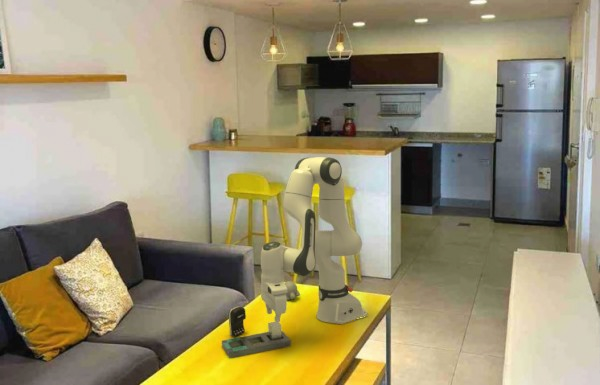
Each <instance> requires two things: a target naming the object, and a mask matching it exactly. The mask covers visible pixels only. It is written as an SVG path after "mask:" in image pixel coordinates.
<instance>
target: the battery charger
mask: <svg viewBox="0 0 600 385" xmlns="http://www.w3.org/2000/svg"><path fill="white" fill-rule="evenodd" d="M246 318H247V315H246V309H245V307H243V306H241V305H240V306H239V305H238V306H234V307H233V308H231V309H229V311H228V325H229V326H228V327H229V335H230V337H237V336H238V337H239V336H241V335H242V334H244V333H245V332H246V329H245V326H244V320H246Z"/></svg>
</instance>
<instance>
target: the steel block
mask: <svg viewBox="0 0 600 385" xmlns="http://www.w3.org/2000/svg"><path fill="white" fill-rule="evenodd" d="M267 327H268V329H267V330H268V332H269V339H270V340H271V341H273V340H278V339H282V336H281V330H282V324H281V323H280V322H276V321H272V322H268V323H267Z"/></svg>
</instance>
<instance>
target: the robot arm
mask: <svg viewBox="0 0 600 385" xmlns="http://www.w3.org/2000/svg"><path fill="white" fill-rule="evenodd" d="M342 170H343V168H342V165H341V163H340V161H339V160H338V159H337V158H336V159H335V158H334V157H325V156H315V157H304V158H300V160H298V161H297V163H296V164H295V166H294V170H292V171H291V172H290V176H289V178H288V181H287V184H286V187H285V190H284V196H283V202H282V203H283V209H284V210H285V212H286V213H287V214H288V215H289V216H290V217H291V218H293V219H294V220H296V221H297V222H298V223H299V225H300V226H301V239H300V240H301V242H300V243H301V244H300V248H295V247H289V246H285V245H282V243H280V242H278V241H271V242H267V243H264V245H262V247H261V252H260V268H261V275H260V280H261V282H260V284H261V286H260V298H261V300H262V301H263V302H264V304H265V308H266V313H267V314H268V315H271V314H273V312H274V313H275V316H274V322H279V323H280V322H281V316H282V314H285V313H286V312H287V305H288V304H287V301H288V300H287V297H286V294H285V293H287V287H286V285H285V279H284V278H285V276H284V272H288V273H291V274H296V275H297V276H302V277H307V276H308V275H310V274H312V272H313V271H314V270H315V268H316V266H317V269H318V276H319V277H318V278H319V285H318V292H317V293H318V306H317V307H318V308H317V312H316V316H315V317H316V319H317V320H319V321H321V322H323V323H328V324H329V323H332V324H338V325H345V324H348V323H350V322H349V321H351V322H353V321H352V320H354V321H356V320H355V319H357V318H360V317H364V316H367V317H368V313H367V310H366V309H364V307H362V306H363V305H362V303H361V301H360V300H359V298H357V297H356V296H354V295H353V294H351V293H352V292H353V290H354V288H353V287H351V286H348V285H347V284H346V282H345V281H346V277H345V276H346V270H345V268H344V267H343V266H342V264H340V263H338V262H336V261H334V260H333V259H332V257H350V256H356V255H359V253H360V252H361V251H362V246H363V241H362V240H363V239H362V237H361V235H360V234H359V233H358V232H357V231H355V230H354V229H353V228H352V227H351V226H350V223H349V222H348V219H347V216H346V202H345V201H346V200H345V198H346V197H345V196H346V195H345V185H344V180H343V177H342V173H343V172H342ZM315 184H317V185H318V187H319V192H318V216H319V218H320V219H321V220H322V221H324V222H325V223H326V224H330V225H331V226H332V228H333V230H332V229H331V230H317V229H316V227H317V225H316V220H317V219H316V214H315V211H313V209H312V197H313V192H314V186H315ZM364 318H365V317H364ZM347 322H348V323H347Z"/></svg>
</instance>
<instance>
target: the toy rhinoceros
mask: <svg viewBox="0 0 600 385" xmlns="http://www.w3.org/2000/svg"><path fill="white" fill-rule="evenodd" d="M284 283H285V285H286V287H287V293H285V294H286V297H287V301H290V300H294V299H296V298H297V297H300V296H301V293H300V291H299V290H298V286H297V284H296V283H295V282H294V281H292V280H290V281H289V280H287V281H284Z"/></svg>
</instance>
